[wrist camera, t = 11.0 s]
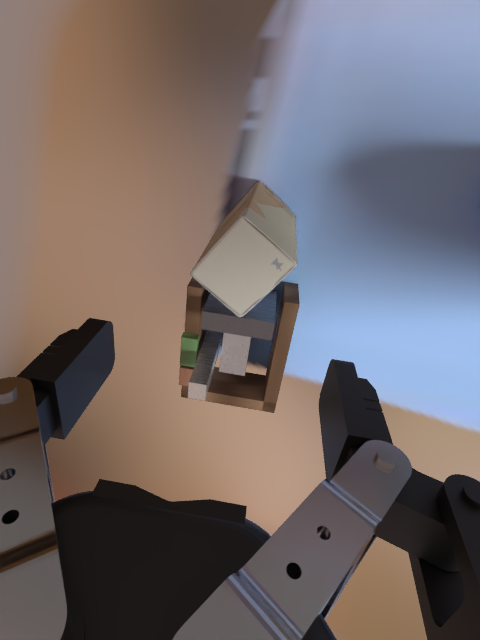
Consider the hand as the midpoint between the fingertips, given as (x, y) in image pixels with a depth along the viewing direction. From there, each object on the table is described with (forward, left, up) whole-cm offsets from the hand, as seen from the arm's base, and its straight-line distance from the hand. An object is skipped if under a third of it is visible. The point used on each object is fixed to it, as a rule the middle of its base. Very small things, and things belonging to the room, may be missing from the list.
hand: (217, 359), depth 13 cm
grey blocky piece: (0, +9, -19) cm, 21 cm away
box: (0, 0, -20) cm, 20 cm away
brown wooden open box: (0, +11, -20) cm, 23 cm away
